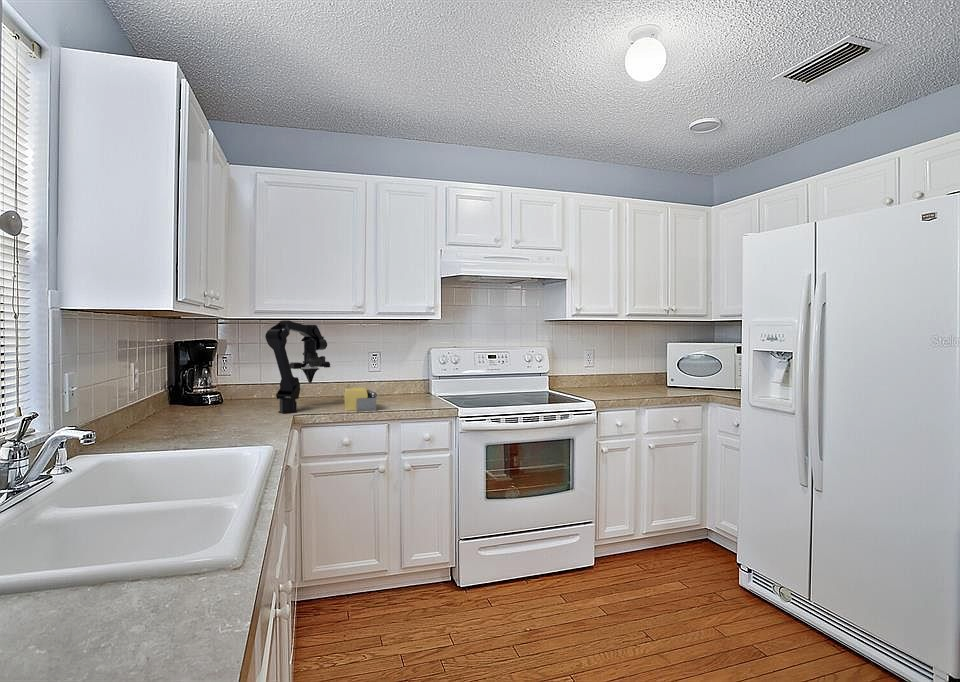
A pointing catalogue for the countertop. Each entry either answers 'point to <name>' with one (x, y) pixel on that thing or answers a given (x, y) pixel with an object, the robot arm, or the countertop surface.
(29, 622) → the countertop surface
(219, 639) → the countertop surface
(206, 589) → the countertop surface
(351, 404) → the cheese
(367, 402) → the leaf bracket
